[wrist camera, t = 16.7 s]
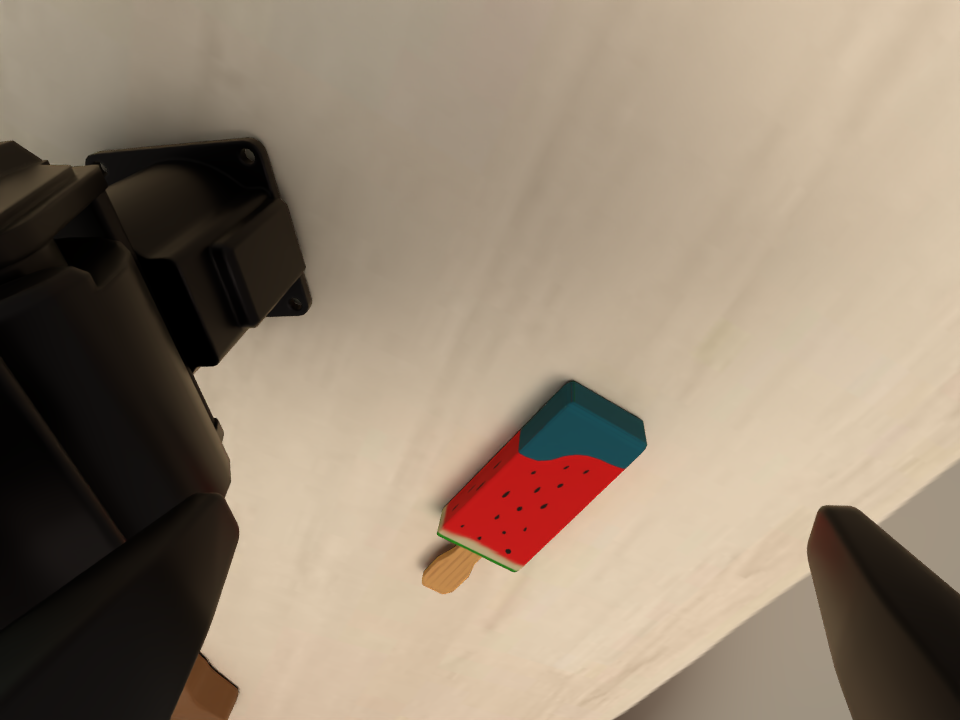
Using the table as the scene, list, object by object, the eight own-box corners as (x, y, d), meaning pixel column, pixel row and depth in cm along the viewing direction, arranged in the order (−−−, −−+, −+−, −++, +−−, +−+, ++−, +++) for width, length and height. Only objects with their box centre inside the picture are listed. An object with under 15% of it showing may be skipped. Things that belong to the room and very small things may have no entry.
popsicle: (392, 581, 30) (562, 396, 22) (399, 557, 31) (562, 373, 23) (467, 616, 31) (658, 450, 23) (471, 591, 32) (653, 426, 24)
